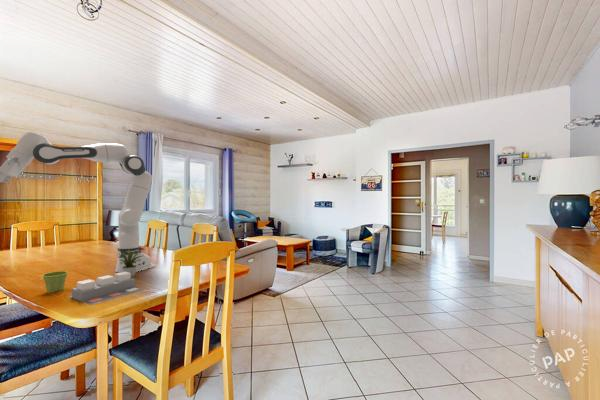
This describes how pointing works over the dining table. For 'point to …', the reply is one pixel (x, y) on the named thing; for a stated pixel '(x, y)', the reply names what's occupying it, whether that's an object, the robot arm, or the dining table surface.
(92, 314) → the dining table surface
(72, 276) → the dining table surface
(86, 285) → the key
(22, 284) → the dining table surface
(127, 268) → the house plant
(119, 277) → the key
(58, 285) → the plant pot
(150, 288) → the dining table surface
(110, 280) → the key middle
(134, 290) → the switch panel
